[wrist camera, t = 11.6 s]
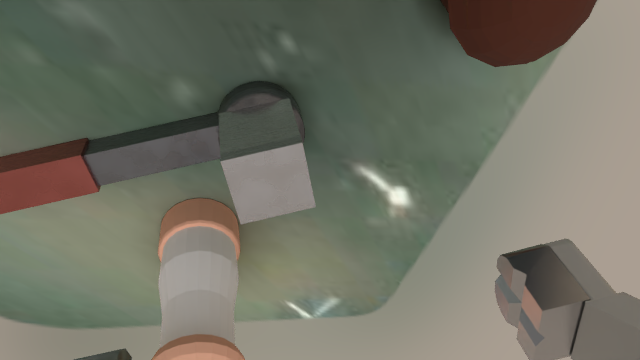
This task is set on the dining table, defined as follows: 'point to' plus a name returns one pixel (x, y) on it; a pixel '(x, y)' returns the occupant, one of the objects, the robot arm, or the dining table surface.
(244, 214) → the light grey cube
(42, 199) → the ratchet
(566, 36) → the muffin
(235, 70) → the dining table surface
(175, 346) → the pepper shaker
